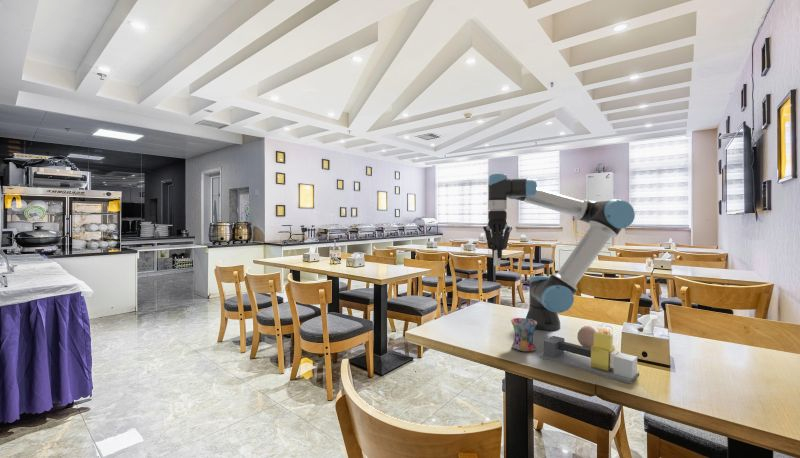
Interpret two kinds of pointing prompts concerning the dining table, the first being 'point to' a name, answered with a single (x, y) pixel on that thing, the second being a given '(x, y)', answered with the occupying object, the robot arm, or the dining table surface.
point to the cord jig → (619, 362)
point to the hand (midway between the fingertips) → (497, 265)
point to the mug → (523, 334)
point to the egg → (586, 336)
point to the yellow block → (601, 351)
